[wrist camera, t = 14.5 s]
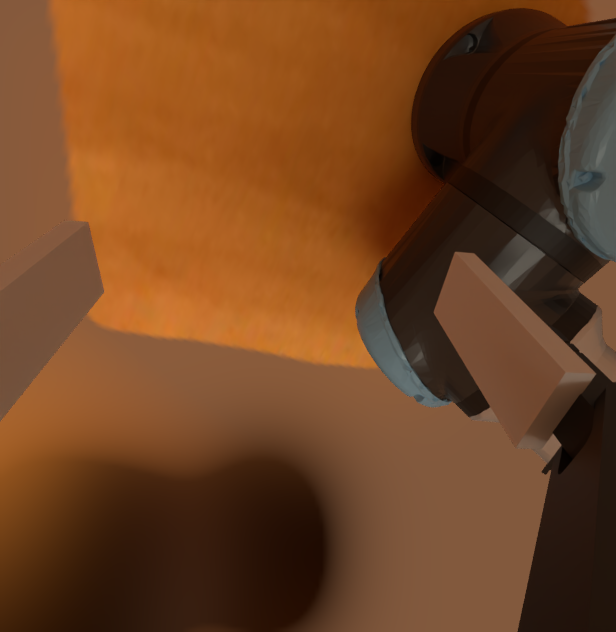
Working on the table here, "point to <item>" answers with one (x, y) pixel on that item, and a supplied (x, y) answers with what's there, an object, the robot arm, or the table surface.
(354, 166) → the table surface
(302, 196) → the table surface
